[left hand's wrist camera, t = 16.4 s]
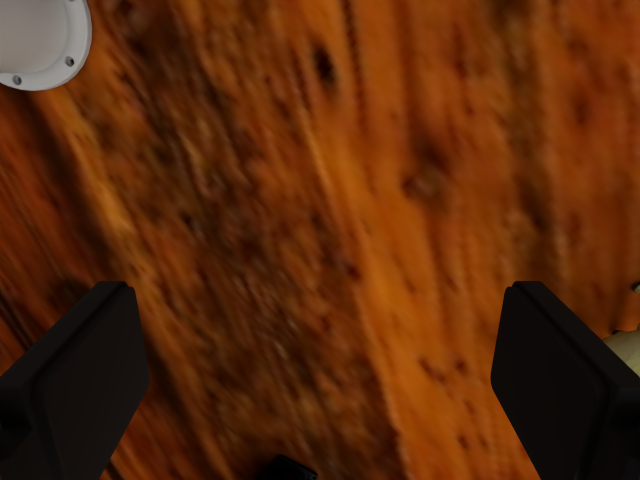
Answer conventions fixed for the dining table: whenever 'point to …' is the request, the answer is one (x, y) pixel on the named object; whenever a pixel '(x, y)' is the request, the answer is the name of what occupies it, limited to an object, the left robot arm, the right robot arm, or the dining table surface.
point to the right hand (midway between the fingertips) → (100, 387)
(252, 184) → the dining table surface
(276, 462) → the right robot arm
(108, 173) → the dining table surface
